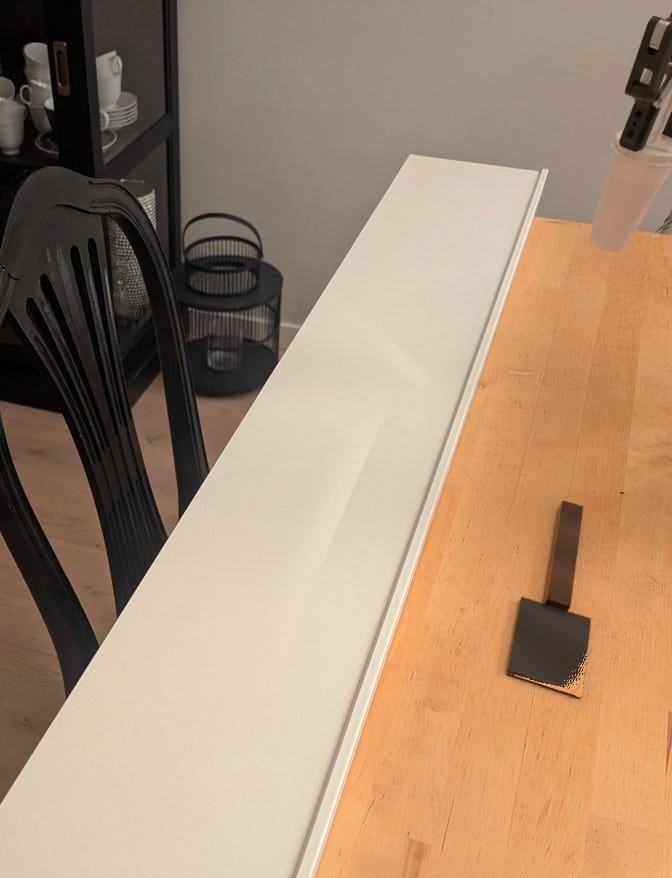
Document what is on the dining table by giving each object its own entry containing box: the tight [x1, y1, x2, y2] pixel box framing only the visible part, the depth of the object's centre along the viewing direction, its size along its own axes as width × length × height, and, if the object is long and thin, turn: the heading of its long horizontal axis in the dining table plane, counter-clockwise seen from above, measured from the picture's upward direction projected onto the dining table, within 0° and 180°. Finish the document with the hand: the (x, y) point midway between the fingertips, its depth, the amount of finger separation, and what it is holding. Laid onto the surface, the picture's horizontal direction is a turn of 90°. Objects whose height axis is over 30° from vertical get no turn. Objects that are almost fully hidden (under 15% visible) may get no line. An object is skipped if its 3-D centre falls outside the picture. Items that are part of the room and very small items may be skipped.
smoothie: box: [588, 94, 672, 253], centre depth 87 cm, size 6×6×14 cm
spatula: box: [505, 499, 592, 689], centre depth 80 cm, size 24×6×1 cm, turn 159°
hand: (650, 141), depth 85 cm, fingers closed on smoothie, 6 cm apart
